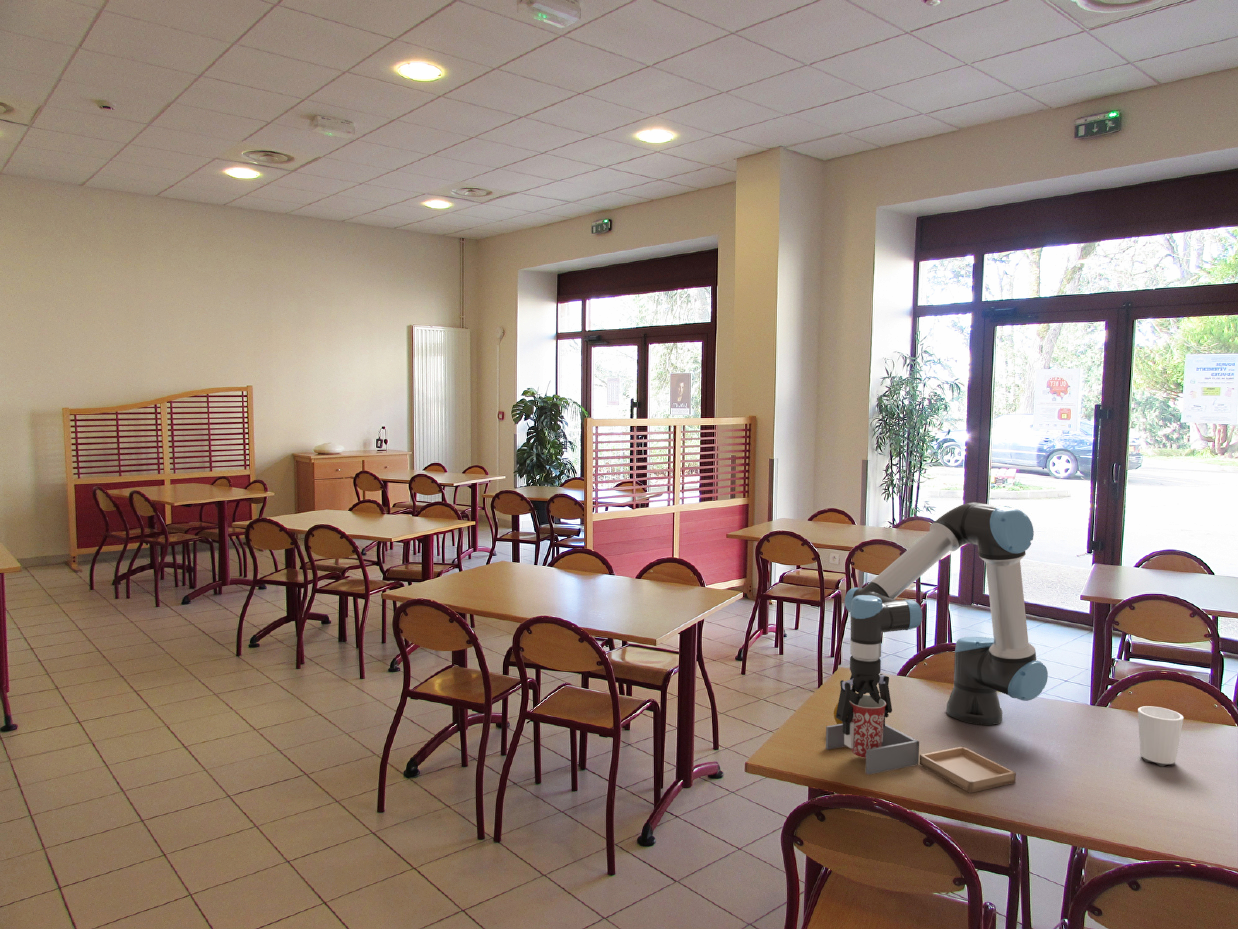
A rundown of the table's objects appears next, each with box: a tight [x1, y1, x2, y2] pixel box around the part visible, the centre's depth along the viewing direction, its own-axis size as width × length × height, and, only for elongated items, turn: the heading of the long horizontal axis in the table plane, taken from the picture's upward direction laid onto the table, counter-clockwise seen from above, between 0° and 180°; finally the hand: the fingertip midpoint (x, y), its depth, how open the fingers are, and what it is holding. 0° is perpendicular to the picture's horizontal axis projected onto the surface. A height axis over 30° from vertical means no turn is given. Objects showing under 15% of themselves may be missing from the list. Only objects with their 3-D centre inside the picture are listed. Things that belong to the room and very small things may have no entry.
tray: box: [918, 746, 1017, 794], centre depth 201 cm, size 14×16×2 cm
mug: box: [849, 694, 886, 759], centre depth 209 cm, size 13×9×14 cm
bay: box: [825, 723, 920, 776], centre depth 210 cm, size 16×17×6 cm
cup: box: [1137, 705, 1184, 767], centre depth 209 cm, size 10×10×13 cm
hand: (863, 743), depth 209 cm, fingers closed on mug, 9 cm apart
